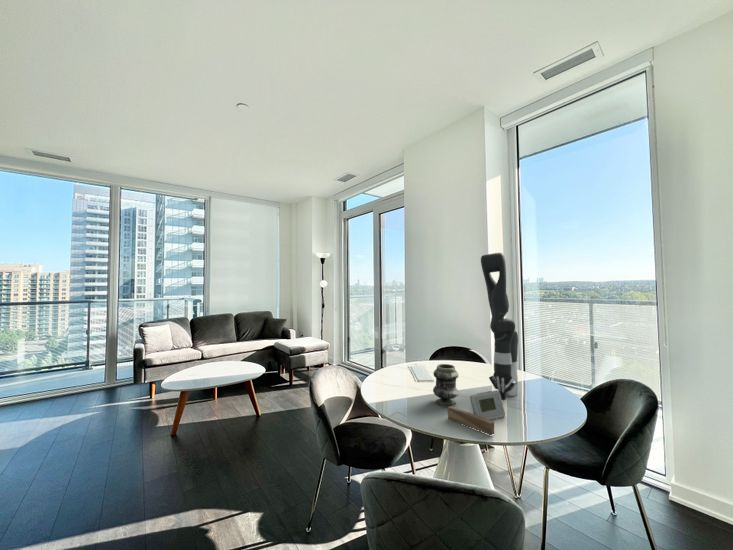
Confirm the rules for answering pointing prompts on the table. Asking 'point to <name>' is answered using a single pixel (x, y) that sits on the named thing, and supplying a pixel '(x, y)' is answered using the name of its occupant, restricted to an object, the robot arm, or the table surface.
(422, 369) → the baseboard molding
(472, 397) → the digital clock
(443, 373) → the stone urn vase
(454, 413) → the walnut board
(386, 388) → the table surface
